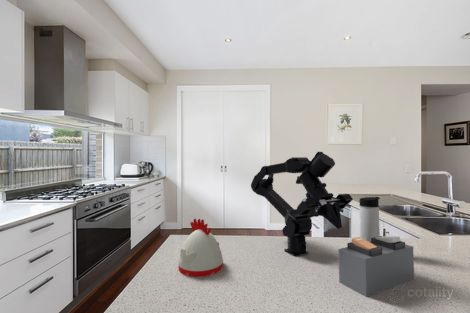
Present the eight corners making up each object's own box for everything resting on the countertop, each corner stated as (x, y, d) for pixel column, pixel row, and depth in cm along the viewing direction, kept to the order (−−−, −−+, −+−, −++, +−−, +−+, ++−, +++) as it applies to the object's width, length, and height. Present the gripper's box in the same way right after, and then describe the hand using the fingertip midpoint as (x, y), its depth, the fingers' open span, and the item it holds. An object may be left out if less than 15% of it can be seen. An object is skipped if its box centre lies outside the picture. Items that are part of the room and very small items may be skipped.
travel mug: (383, 255, 85) (382, 198, 86) (363, 254, 87) (362, 197, 87) (377, 249, 91) (376, 195, 92) (358, 248, 93) (357, 195, 93)
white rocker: (376, 242, 71) (375, 237, 72) (383, 240, 73) (382, 236, 73) (393, 242, 67) (392, 238, 67) (400, 241, 68) (399, 236, 69)
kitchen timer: (200, 255, 87) (200, 213, 88) (231, 264, 79) (231, 217, 80) (169, 269, 76) (169, 220, 76) (201, 281, 68) (201, 227, 68)
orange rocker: (351, 242, 67) (352, 238, 67) (359, 240, 69) (360, 236, 68) (368, 253, 63) (369, 248, 63) (376, 251, 64) (377, 246, 64)
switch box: (339, 282, 67) (338, 243, 67) (385, 268, 75) (384, 234, 76) (366, 296, 60) (365, 253, 60) (414, 279, 68) (413, 241, 69)
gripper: (322, 197, 92) (347, 236, 82) (281, 203, 84) (302, 246, 74) (339, 178, 84) (368, 218, 74) (295, 182, 77) (320, 227, 67)
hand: (340, 228), depth 73 cm, fingers closed
